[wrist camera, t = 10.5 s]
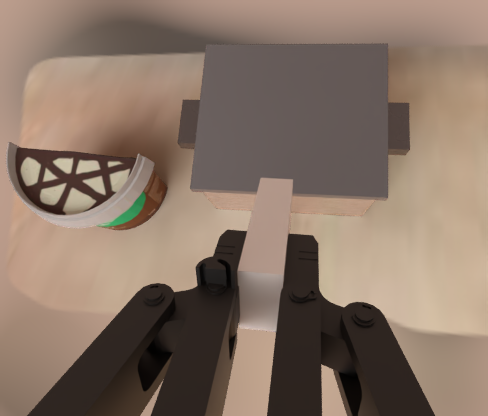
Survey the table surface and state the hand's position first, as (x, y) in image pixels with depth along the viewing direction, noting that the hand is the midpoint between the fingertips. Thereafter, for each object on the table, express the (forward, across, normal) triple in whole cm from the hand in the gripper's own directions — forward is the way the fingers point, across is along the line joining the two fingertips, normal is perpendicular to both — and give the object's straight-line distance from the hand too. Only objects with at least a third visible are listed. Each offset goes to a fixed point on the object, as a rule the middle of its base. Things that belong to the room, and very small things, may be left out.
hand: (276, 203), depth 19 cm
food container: (+15, -17, -12) cm, 26 cm away
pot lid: (+14, 0, -1) cm, 14 cm away
